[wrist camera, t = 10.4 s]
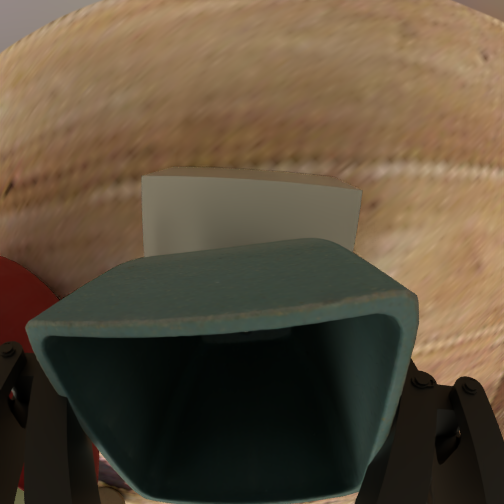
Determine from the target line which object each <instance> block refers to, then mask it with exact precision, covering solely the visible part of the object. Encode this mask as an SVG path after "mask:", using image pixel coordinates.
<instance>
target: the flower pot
mask: <svg viewBox="0 0 504 504" xmlns="http://www.w3.org/2000/svg"><path fill="white" fill-rule="evenodd" d="M418 325H419V305H418V298H417V295H416V294H415V293H413V292H412V291H410V290H409V289H407V288H406V287H404V286H403V285H401V284H400V283H398V282H397V281H395V280H394V279H392V278H391V277H389V276H388V275H386V274H385V273H384V272H382V271H381V270H379V269H378V268H376V267H375V266H373V265H372V264H370V263H369V262H367V261H365V260H364V259H362V258H361V257H359V256H358V255H356V254H354V253H353V252H351V251H350V250H348V249H346V248H344V247H343V246H341V245H339V244H337V243H335V242H332V241H329V240H325V239H320V238H299V239H291V240H283V241H275V242H267V243H259V244H250V245H242V246H234V247H226V248H218V249H210V250H201V251H193V252H184V253H176V254H166V255H157V256H149V257H143V258H139V259H135V260H131V261H128V262H125V263H123V264H120V265H118V266H116V267H114V268H112V269H111V270H109V271H107V272H105V273H104V274H102V275H100V276H99V277H97V278H95V279H94V280H92V281H90V282H89V283H87V284H85V285H84V286H82V287H80V288H79V289H77V290H76V291H74V292H73V293H71V294H70V295H68V296H67V297H65V298H63V299H62V300H60V301H59V302H57V303H56V304H54V305H53V306H51V307H50V308H48V309H47V310H45V311H44V312H42V313H41V314H39V315H38V316H36V317H35V318H33V319H31V320H30V321H28V323H27V324H26V327H25V329H26V332H27V335H28V338H29V341H30V344H31V346H32V349H33V351H34V353H35V355H36V358H37V360H38V361H39V363H40V366H41V367H42V369H43V371H44V372H45V374H46V376H47V377H48V379H49V381H50V383H51V384H52V386H53V387H54V389H55V391H56V392H57V393H58V394H59V395H61V396H64V397H67V398H68V400H69V403H70V405H71V407H72V409H73V411H74V413H75V415H76V417H77V419H78V421H79V423H80V425H81V427H82V429H83V431H84V432H85V433H86V435H87V436H88V437H89V439H90V440H91V441H92V443H93V444H94V445H95V446H96V447H97V449H98V450H99V451H100V452H101V454H102V455H103V456H104V458H105V459H106V460H107V461H108V463H109V464H110V465H111V466H112V468H113V469H114V470H115V471H116V472H117V473H118V474H119V475H120V477H121V478H122V479H123V480H124V481H125V482H126V483H127V484H128V485H129V486H130V487H131V488H132V489H133V490H134V491H135V492H136V493H138V494H139V495H141V496H142V497H144V498H145V499H149V500H153V501H159V502H163V503H164V502H165V503H173V504H292V503H302V502H309V501H316V500H323V499H330V498H335V497H341V496H346V495H349V494H353V493H356V492H359V490H360V488H361V485H362V482H363V479H364V476H365V473H366V470H367V467H368V465H369V464H370V462H371V461H372V460H373V459H374V457H375V456H376V454H377V453H378V451H379V450H380V448H381V447H382V446H383V444H384V442H385V441H386V439H387V437H388V435H389V433H390V430H391V426H392V422H393V419H394V416H395V413H396V409H397V406H398V403H399V399H400V396H401V395H402V391H403V386H404V383H405V379H406V375H407V370H408V367H409V364H410V358H411V355H412V351H413V348H414V344H415V340H416V335H417V330H418ZM247 331H248V332H247Z"/></svg>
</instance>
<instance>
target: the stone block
mask: <svg viewBox="0 0 504 504" xmlns="http://www.w3.org/2000/svg"><path fill="white" fill-rule="evenodd" d="M362 191H363V190H361V189H359V188H356V187H354V186H352V185H350V184H348V183H346V182H344V181H342V180H340V179H338V178H336V177H329V176H321V175H311V174H302V173H291V172H280V171H267V170H253V169H236V168H215V167H178V166H174V167H170V168H167V169H163V170H160V171H156V172H153V173H150V174H146V175H143V176H142V225H143V245H144V257H149V256H157V255H166V254H176V253H184V252H193V251H201V250H210V249H218V248H226V247H234V246H242V245H250V244H259V243H267V242H275V241H283V240H291V239H299V238H320V239H325V240H329V241H332V242H335V243H337V244H339V245H341V246H343V247H344V248H346V249H348V250H350V251H351V252H353V249H354V244H355V238H356V232H357V226H358V219H359V212H360V206H361V198H362ZM247 332H248V331H247Z"/></svg>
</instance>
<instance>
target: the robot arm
mask: <svg viewBox="0 0 504 504" xmlns="http://www.w3.org/2000/svg"><path fill="white" fill-rule="evenodd" d="M11 391H12V392H13V396H12V398H11V399H10V397H9V394H10V392H11ZM459 430H460V433H459ZM23 464H24V501H25V504H101V500H100V495H99V490H98V484H97V478H96V472H95V465H94V457H93V448H92V441H91V440H90V439H89V437H88V436H87V435H86V433H85V432H84V431H83V429H82V427H81V425H80V423H79V421H78V419H77V417H76V415H75V413H74V411H73V409H72V407H71V405H70V403H69V400H68V398H67V397H64V396H61V395H59V394H58V393H57V392H56V391H55V389H54V387H53V386H52V384H51V383H50V381H49V379H48V377H47V376H46V374H45V372H44V371H43V369H42V367H41V366H40V363H39V361H38V360H37V358H36V355H35V353H25V352H24V350H23V347H22V345H21V344H20V343H18V342H15V341H9V342H5V343H3V344H2V345H0V504H14V501H15V496H16V492H17V488H18V483H19V479H20V475H21V472H22V468H23ZM355 504H504V440H503V437H502V434H501V432H500V429H499V426H498V423H497V421H496V418H495V415H494V413H493V410H492V408H491V405H490V403H489V400H488V398H487V396H486V393H485V391H484V389H483V387H482V385H481V384H480V383H479V382H478V381H477V380H475V379H473V378H471V377H466V376H465V377H460V378H458V379H457V380H456V382H455V384H454V386H445V385H438V384H437V383H436V381H435V379H434V378H433V377H432V376H431V375H429V374H428V373H426V372H423V371H418V369H417V368H416V366H415V364H414V362H413V361H412V359H411V358H410V364H409V367H408V370H407V375H406V379H405V383H404V386H403V391H402V395H401V396H400V399H399V403H398V406H397V409H396V413H395V416H394V419H393V422H392V426H391V430H390V433H389V435H388V437H387V439H386V441H385V442H384V444H383V446H382V447H381V448H380V450H379V451H378V453H377V454H376V456H375V457H374V459H373V460H372V461H371V462H370V464H369V465H368V467H367V470H366V473H365V476H364V479H363V482H362V485H361V488H360V490H359V493H358V496H357V498H356V501H355Z"/></svg>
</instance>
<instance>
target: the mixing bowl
mask: <svg viewBox="0 0 504 504" xmlns="http://www.w3.org/2000/svg"><path fill="white" fill-rule="evenodd" d="M59 301H60V300H59V299H58V298H57V297H56V296H55V295H54V294H53V292H52V291H51V290H50V289H49V288H48V287H47V286H46V285H45V284H44V283H43V282H42V281H40V280H39V279H38V278H37V277H36V276H35V275H34V274H32V273H31V272H30V271H28V270H27V269H25V268H24V267H22V266H21V265H19V264H18V263H16V262H14V261H11V260H9V259H7V258H5V257H2V256H0V345H2V344H3V343H5V342H9V341H15V342H18V343H20V344H21V345H22V347H23V350H24V352H25V353H34V351H33V349H32V346H31V344H30V341H29V338H28V335H27V332H26V329H25V327H26V324H27V323H28V321H30V320H31V319H33V318H35V317H36V316H38V315H39V314H41V313H42V312H44V311H45V310H47V309H48V308H50V307H51V306H53V305H54V304H56V303H57V302H59ZM12 396H13V392H12V391H11V392H10V394H9V397H10V399H11V398H12ZM92 448H93V457H94V465H95V472H96V478H97V484H98V470H99V450H98V449H97V447H96V446H95V445H94V444H93V443H92ZM18 487H19V488H20V489H21V490H23V491H24V464H23V468H22V472H21V475H20V479H19V483H18Z"/></svg>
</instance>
